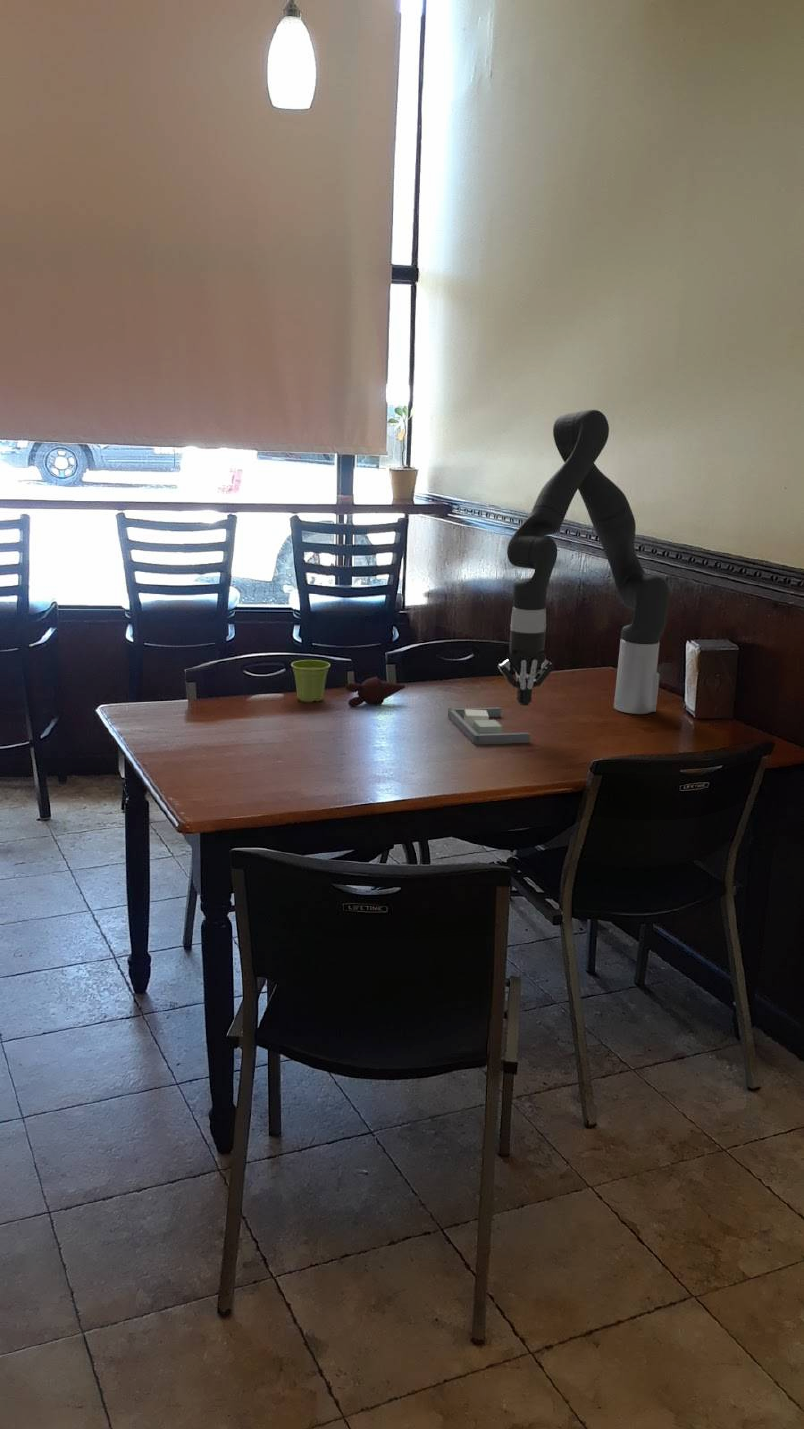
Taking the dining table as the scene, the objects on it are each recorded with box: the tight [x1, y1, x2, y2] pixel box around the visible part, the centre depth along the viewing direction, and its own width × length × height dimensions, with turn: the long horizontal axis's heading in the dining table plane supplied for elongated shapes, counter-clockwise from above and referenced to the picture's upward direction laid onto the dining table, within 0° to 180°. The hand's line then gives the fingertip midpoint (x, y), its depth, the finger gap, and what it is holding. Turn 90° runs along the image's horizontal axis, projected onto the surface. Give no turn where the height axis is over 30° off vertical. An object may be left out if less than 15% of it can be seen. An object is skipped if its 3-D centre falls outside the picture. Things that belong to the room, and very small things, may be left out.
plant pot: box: [290, 659, 331, 703], centre depth 268 cm, size 9×9×9 cm
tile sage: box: [473, 719, 503, 734], centre depth 247 cm, size 5×5×3 cm
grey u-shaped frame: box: [447, 706, 531, 746], centre depth 251 cm, size 12×21×2 cm, turn 14°
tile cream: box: [463, 709, 490, 728], centre depth 254 cm, size 5×5×3 cm
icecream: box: [345, 675, 406, 707], centre depth 266 cm, size 7×7×15 cm
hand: (523, 704), depth 246 cm, fingers closed
